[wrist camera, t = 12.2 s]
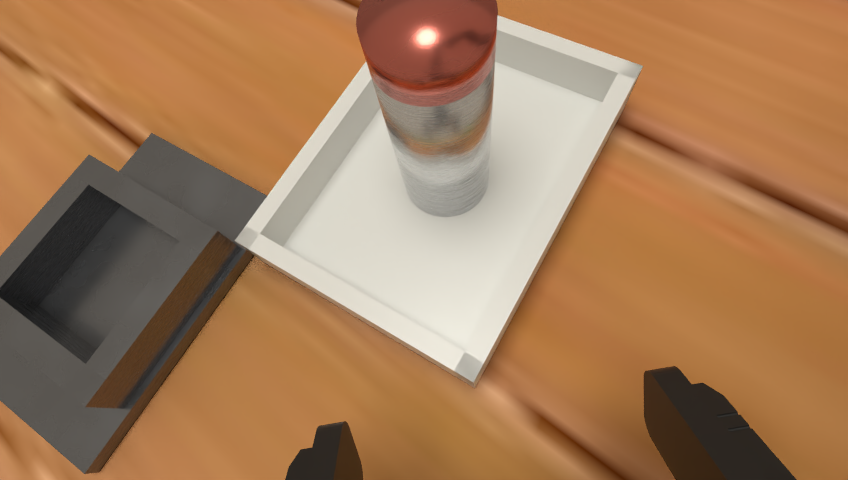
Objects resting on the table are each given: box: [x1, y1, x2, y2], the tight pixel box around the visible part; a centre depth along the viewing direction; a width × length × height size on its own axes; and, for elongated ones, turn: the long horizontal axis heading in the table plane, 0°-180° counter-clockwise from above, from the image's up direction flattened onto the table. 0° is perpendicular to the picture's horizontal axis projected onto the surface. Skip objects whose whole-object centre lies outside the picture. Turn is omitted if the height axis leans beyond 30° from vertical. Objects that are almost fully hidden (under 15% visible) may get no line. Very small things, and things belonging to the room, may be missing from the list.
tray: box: [235, 16, 643, 388], centre depth 22 cm, size 16×12×3 cm
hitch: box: [0, 133, 267, 474], centre depth 22 cm, size 14×9×3 cm, turn 149°
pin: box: [356, 0, 498, 217], centre depth 18 cm, size 4×4×10 cm
